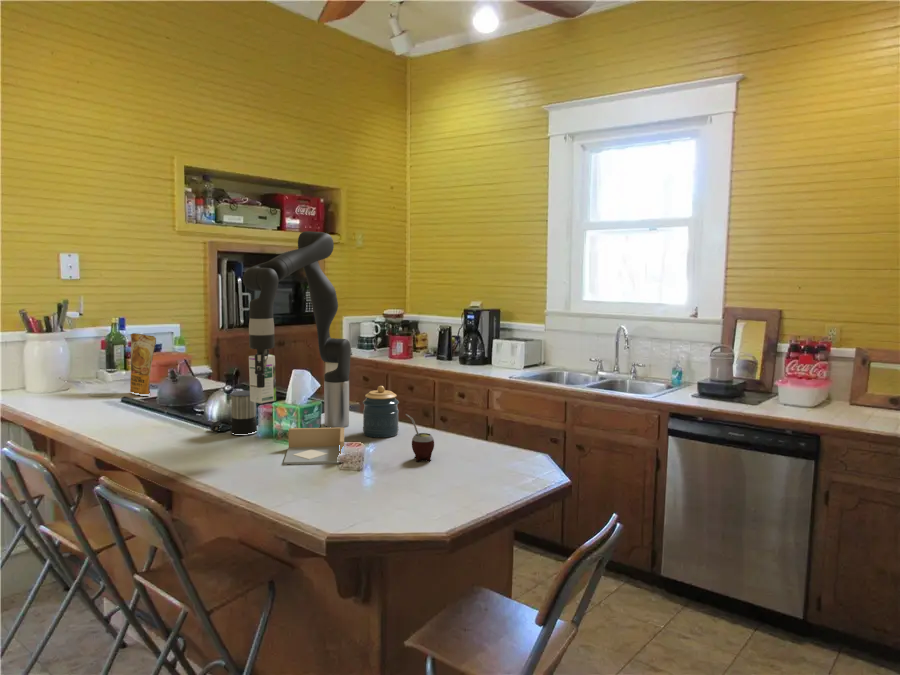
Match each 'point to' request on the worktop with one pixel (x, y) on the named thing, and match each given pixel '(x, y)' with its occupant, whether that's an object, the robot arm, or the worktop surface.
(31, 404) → the worktop surface
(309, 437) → the corner arena
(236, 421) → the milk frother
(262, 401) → the syrup box
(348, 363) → the robot arm
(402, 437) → the worktop surface
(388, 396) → the canister
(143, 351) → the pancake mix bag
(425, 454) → the mate gourd
